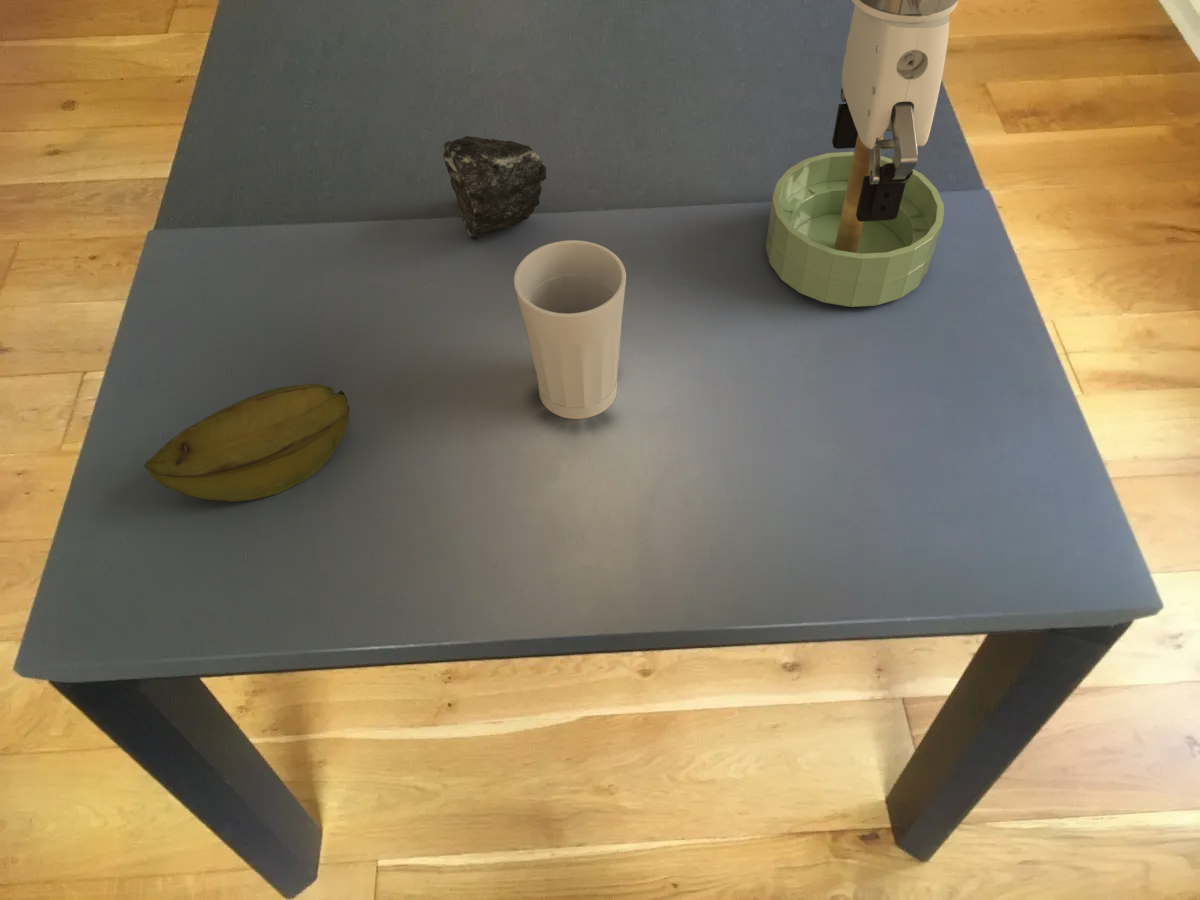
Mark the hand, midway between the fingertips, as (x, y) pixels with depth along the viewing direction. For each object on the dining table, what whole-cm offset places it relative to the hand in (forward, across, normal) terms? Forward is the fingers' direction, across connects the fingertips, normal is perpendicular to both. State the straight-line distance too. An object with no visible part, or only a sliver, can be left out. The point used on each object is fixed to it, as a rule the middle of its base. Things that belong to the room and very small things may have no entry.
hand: (862, 180), depth 81 cm
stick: (+8, 0, 0) cm, 8 cm away
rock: (+8, +7, +31) cm, 33 cm away
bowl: (+8, 0, 0) cm, 8 cm away
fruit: (+8, -20, +49) cm, 53 cm away
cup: (+8, -14, +25) cm, 30 cm away
